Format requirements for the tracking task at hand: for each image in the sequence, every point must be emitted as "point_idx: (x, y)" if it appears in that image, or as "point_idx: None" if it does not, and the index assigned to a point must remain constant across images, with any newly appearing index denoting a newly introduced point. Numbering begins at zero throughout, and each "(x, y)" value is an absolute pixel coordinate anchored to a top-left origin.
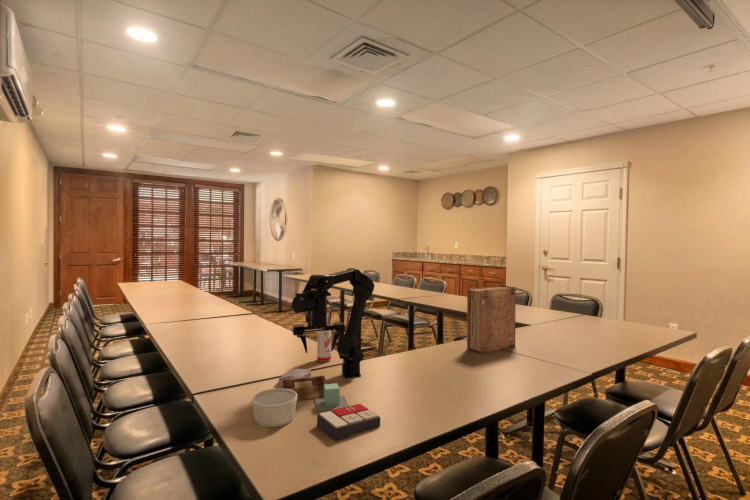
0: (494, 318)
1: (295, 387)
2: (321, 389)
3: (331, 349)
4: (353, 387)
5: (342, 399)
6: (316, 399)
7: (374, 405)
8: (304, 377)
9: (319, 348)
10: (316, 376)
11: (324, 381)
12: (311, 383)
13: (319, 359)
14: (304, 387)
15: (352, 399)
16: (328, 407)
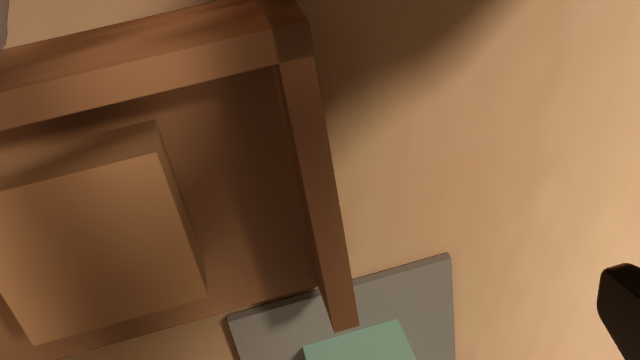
0: None
1: (22, 323)
2: (272, 179)
3: (622, 343)
4: (562, 66)
5: (432, 314)
6: (245, 330)
7: (595, 342)
8: (38, 91)
9: None
10: (206, 53)
11: (318, 209)
12: (174, 223)
13: None
14: (122, 317)
15: (496, 284)
16: None
